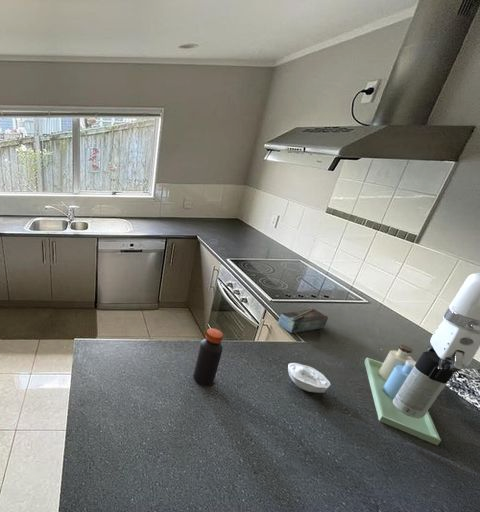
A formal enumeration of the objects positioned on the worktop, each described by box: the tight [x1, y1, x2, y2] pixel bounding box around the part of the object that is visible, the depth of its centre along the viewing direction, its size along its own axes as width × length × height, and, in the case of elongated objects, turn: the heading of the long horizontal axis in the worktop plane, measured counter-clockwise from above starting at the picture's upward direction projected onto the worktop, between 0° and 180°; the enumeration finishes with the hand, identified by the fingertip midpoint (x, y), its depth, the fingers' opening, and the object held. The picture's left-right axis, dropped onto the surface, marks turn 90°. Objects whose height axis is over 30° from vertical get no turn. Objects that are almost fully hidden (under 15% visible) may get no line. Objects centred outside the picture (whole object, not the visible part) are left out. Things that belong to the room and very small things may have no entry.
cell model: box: [287, 362, 331, 393], centre depth 95 cm, size 10×12×7 cm
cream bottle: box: [378, 344, 415, 381], centre depth 98 cm, size 6×6×14 cm
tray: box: [363, 357, 442, 446], centre depth 93 cm, size 12×31×3 cm, turn 144°
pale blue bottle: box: [382, 359, 417, 399], centre depth 91 cm, size 6×6×14 cm
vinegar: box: [193, 327, 224, 387], centre depth 94 cm, size 7×7×20 cm
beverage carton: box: [277, 308, 329, 334], centre depth 128 cm, size 8×19×7 cm, turn 103°
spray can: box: [393, 351, 454, 419], centre depth 81 cm, size 7×7×20 cm
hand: (432, 371), depth 79 cm, fingers closed on spray can, 6 cm apart
